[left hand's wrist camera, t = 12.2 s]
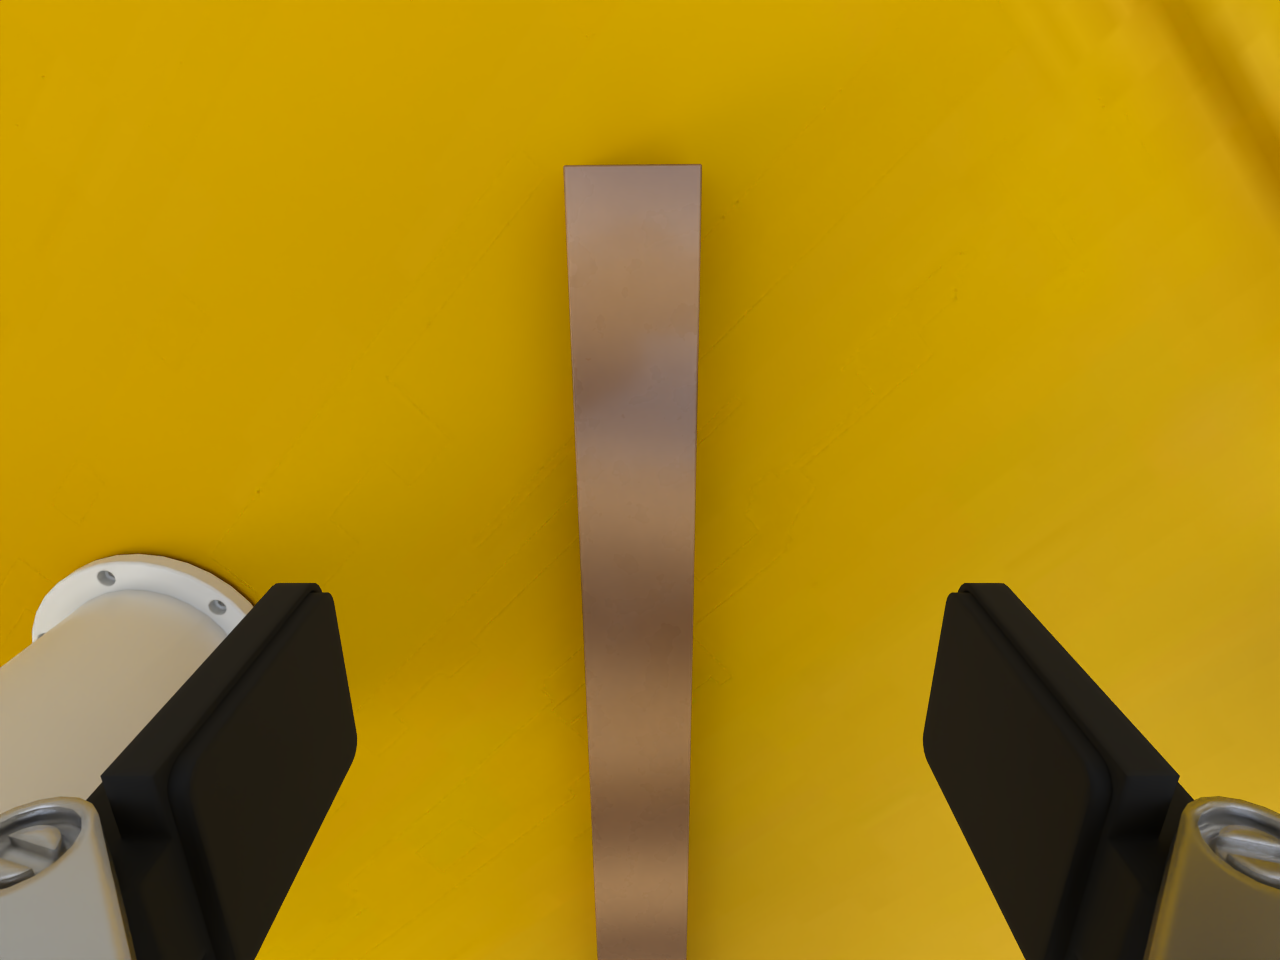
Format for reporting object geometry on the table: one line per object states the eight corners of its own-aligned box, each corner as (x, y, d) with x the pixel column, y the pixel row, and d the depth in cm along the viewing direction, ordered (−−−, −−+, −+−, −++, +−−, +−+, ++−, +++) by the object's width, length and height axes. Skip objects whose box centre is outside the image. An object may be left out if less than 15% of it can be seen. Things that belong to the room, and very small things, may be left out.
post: (579, 168, 32) (563, 165, 25) (688, 167, 32) (701, 163, 25) (610, 1034, 53) (606, 1164, 46) (676, 1034, 53) (682, 1164, 46)
